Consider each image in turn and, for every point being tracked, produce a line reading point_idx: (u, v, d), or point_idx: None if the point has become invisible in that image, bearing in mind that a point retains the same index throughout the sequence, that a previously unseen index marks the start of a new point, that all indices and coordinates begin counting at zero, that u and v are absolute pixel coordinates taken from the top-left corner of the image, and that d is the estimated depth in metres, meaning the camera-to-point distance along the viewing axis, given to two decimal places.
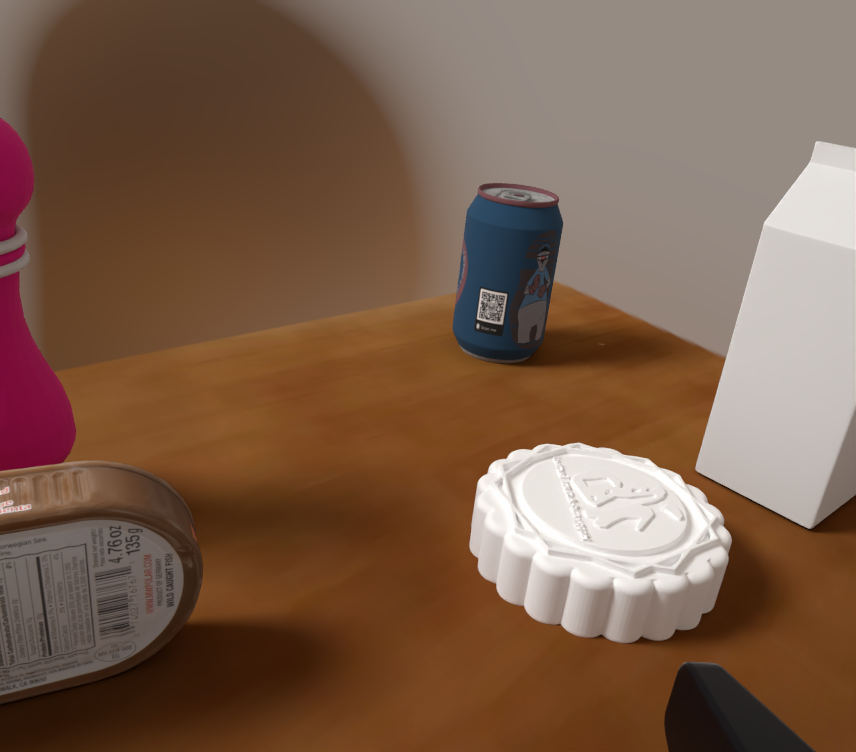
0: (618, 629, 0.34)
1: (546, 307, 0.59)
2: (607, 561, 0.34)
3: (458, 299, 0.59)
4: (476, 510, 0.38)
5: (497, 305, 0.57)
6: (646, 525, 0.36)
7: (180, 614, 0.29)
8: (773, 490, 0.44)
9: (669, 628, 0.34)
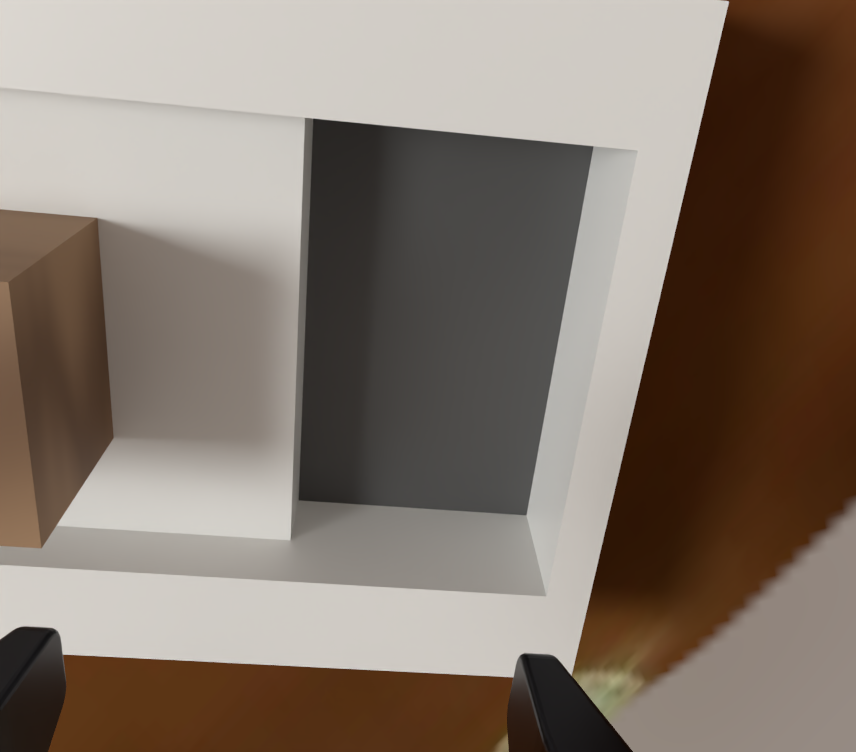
0: None
1: None
2: None
3: None
4: None
5: None
6: None
7: None
8: None
9: None
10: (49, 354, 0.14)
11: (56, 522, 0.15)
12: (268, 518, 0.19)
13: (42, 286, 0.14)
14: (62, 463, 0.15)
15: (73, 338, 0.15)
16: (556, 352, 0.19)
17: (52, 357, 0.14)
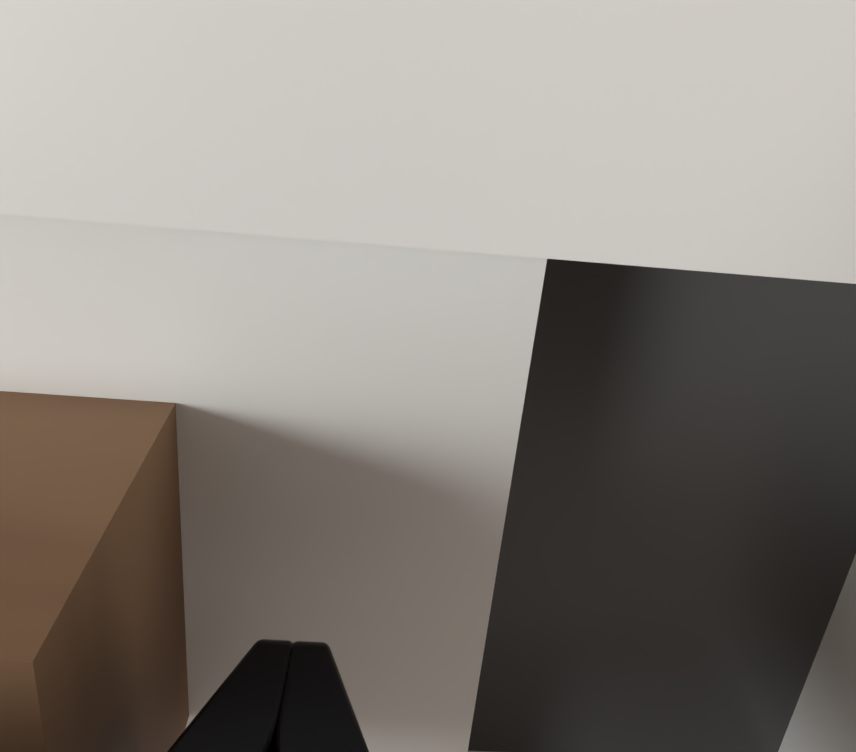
0: None
1: None
2: None
3: None
4: None
5: None
6: None
7: None
8: None
9: None
10: (105, 706, 0.07)
11: None
12: None
13: (94, 600, 0.07)
14: None
15: (140, 634, 0.09)
16: None
17: (109, 706, 0.08)
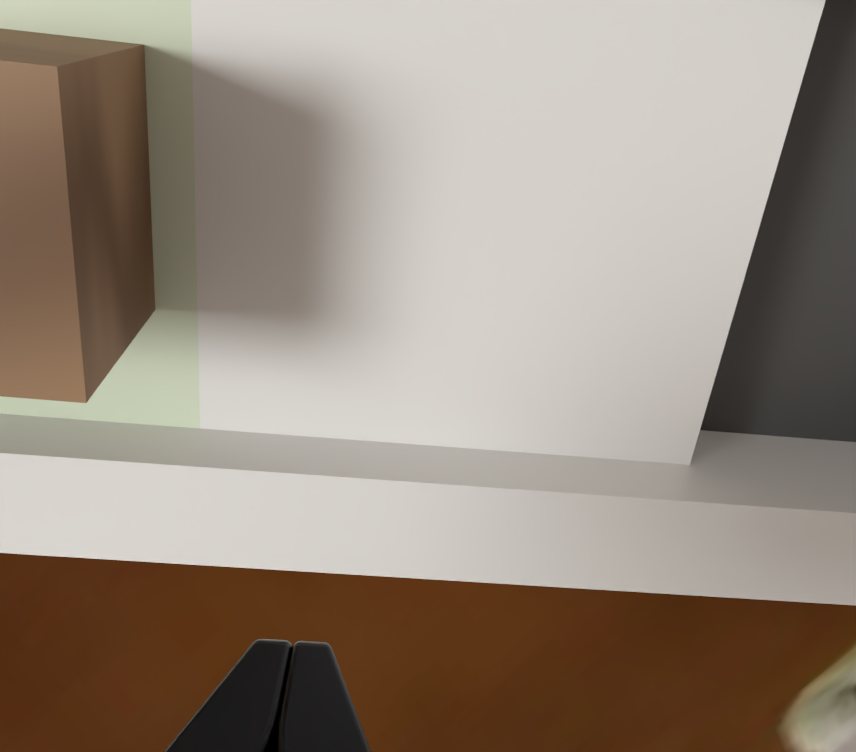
0: None
1: None
2: None
3: None
4: None
5: None
6: None
7: None
8: None
9: None
10: (95, 178, 0.12)
11: (100, 379, 0.13)
12: (673, 440, 0.18)
13: (91, 93, 0.12)
14: (107, 314, 0.13)
15: (119, 173, 0.13)
16: None
17: (99, 183, 0.12)
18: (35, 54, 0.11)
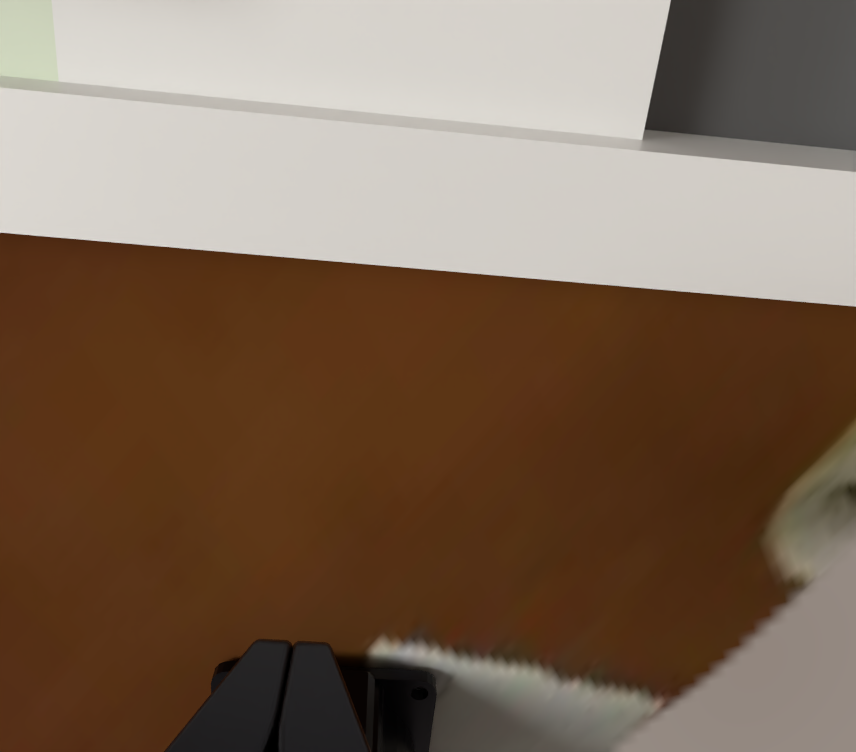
0: None
1: None
2: None
3: None
4: None
5: None
6: None
7: None
8: None
9: None
10: None
11: None
12: (621, 104, 0.15)
13: None
14: None
15: None
16: None
17: None
18: None
